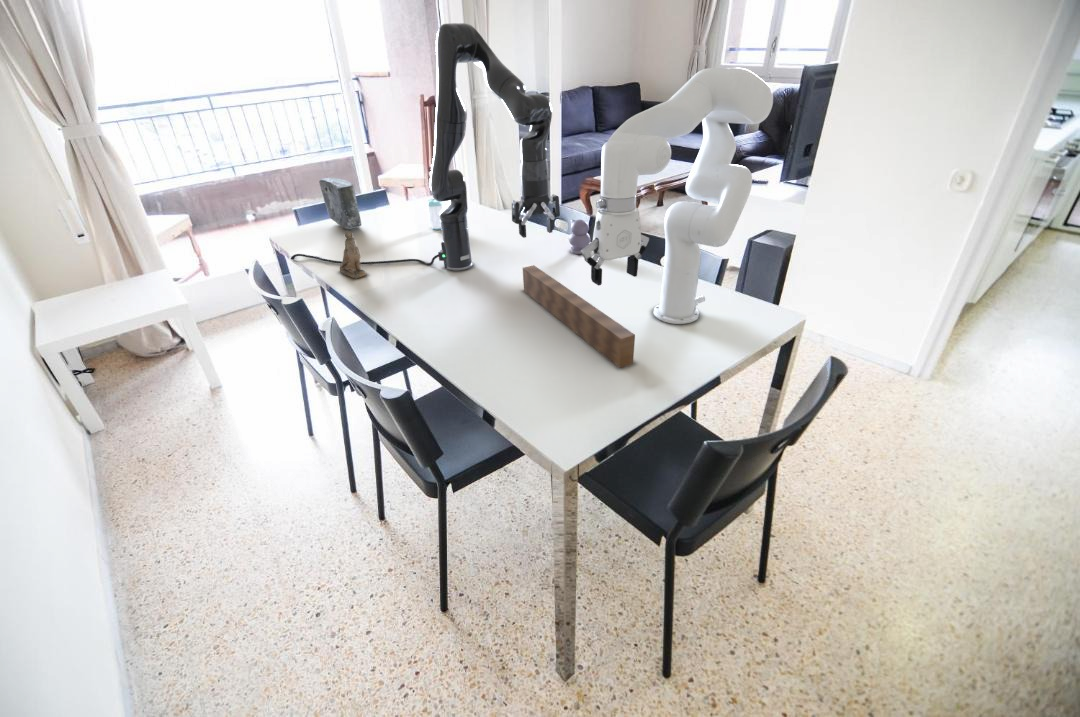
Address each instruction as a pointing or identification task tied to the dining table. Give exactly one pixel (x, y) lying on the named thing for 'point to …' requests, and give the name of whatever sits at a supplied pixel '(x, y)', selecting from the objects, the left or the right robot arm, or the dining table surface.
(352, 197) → the concrete block
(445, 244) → the left robot arm
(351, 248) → the brown carved statuette
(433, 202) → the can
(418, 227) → the dining table surface
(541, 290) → the post
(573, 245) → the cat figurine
